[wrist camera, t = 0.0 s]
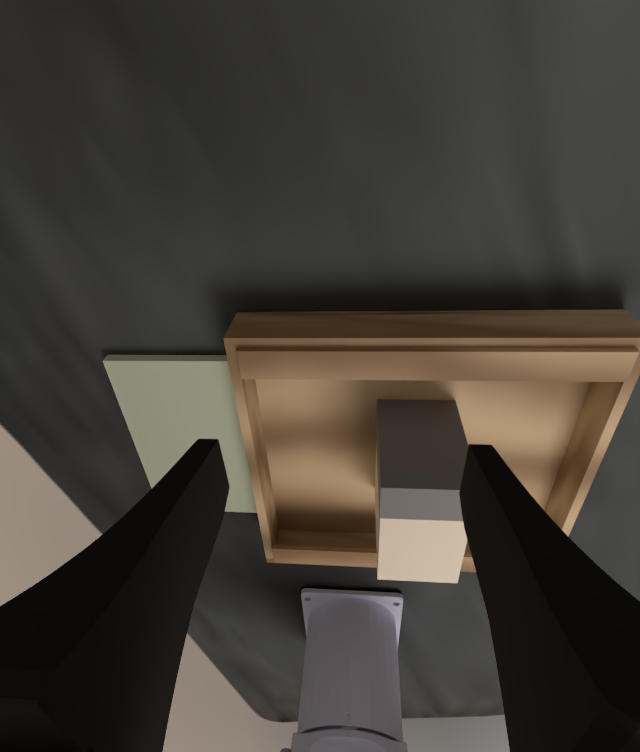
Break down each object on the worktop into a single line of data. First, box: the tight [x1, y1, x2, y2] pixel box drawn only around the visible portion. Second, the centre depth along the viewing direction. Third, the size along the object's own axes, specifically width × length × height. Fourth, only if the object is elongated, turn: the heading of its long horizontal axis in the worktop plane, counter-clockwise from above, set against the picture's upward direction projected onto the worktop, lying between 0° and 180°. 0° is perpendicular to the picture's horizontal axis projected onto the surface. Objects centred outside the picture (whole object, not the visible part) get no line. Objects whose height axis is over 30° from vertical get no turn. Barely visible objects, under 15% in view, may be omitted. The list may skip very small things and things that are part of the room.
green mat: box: [103, 355, 257, 513], centre depth 27 cm, size 12×7×1 cm, turn 3°
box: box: [375, 399, 468, 583], centre depth 23 cm, size 7×4×6 cm, turn 3°
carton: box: [223, 309, 640, 572], centre depth 24 cm, size 17×18×3 cm
